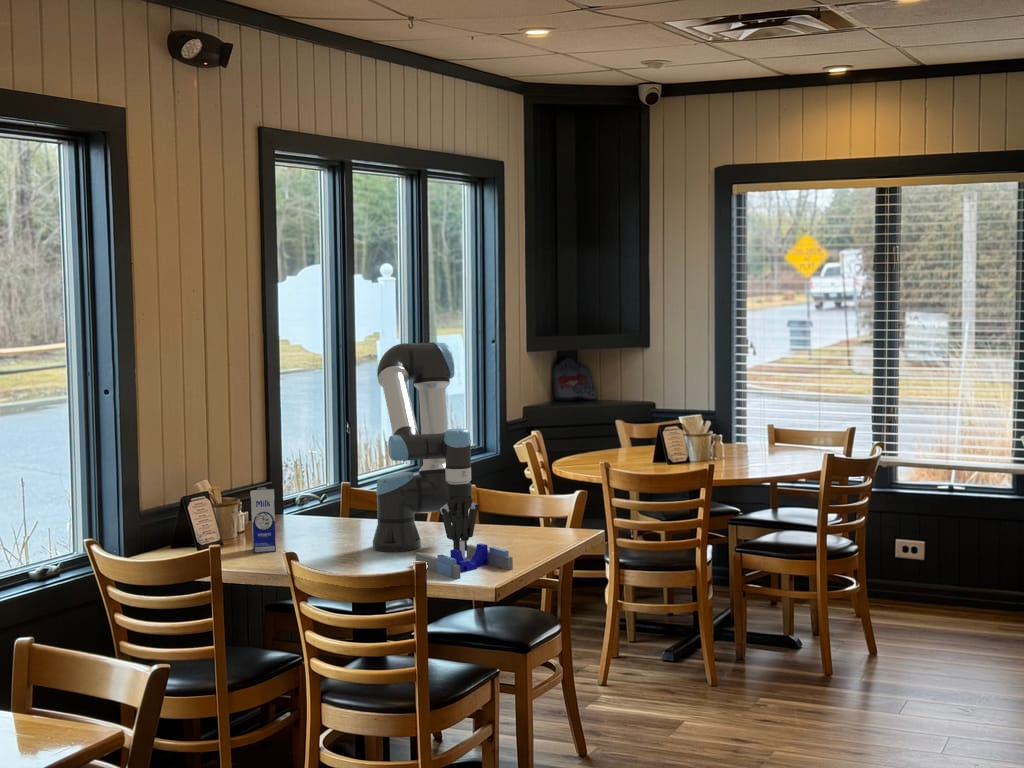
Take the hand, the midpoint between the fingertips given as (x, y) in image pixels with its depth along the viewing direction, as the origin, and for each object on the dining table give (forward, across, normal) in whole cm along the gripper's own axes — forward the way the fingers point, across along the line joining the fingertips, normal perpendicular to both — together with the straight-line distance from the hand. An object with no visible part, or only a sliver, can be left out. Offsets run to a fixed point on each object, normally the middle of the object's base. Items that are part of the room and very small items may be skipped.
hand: (460, 562), depth 349 cm
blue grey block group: (+1, 0, -2) cm, 2 cm away
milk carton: (+1, -37, +59) cm, 70 cm away
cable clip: (+1, +1, -4) cm, 4 cm away
